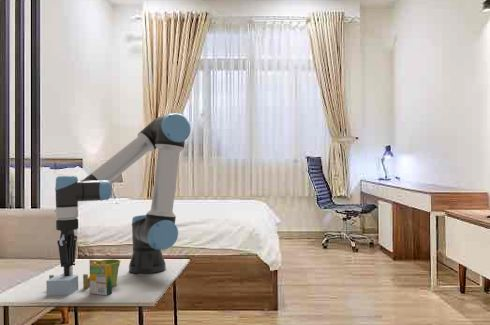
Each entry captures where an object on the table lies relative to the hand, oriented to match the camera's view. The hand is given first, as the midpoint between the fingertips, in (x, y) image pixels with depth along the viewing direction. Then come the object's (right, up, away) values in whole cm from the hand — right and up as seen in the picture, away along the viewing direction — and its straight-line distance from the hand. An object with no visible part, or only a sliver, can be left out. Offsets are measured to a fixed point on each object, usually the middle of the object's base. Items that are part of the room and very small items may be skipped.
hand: (68, 284), depth 177 cm
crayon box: (+14, -1, -8) cm, 17 cm away
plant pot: (+13, -1, +4) cm, 14 cm away
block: (0, -2, -5) cm, 5 cm away
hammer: (0, -2, +6) cm, 6 cm away
